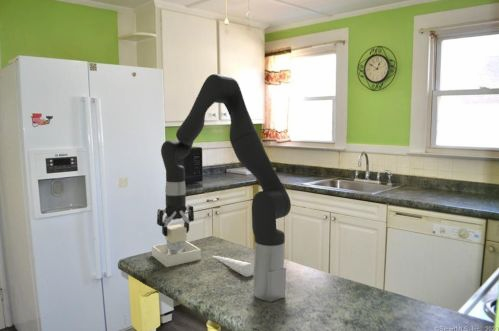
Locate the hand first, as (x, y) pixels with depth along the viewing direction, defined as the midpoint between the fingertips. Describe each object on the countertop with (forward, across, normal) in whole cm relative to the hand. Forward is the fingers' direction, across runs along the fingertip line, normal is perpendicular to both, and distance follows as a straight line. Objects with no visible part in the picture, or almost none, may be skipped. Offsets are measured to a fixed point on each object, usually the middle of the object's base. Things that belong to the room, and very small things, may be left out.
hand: (175, 234), depth 150 cm
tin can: (+9, 0, 0) cm, 9 cm away
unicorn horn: (+10, +13, -18) cm, 25 cm away
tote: (+10, 0, 0) cm, 10 cm away
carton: (+2, 0, 0) cm, 2 cm away
